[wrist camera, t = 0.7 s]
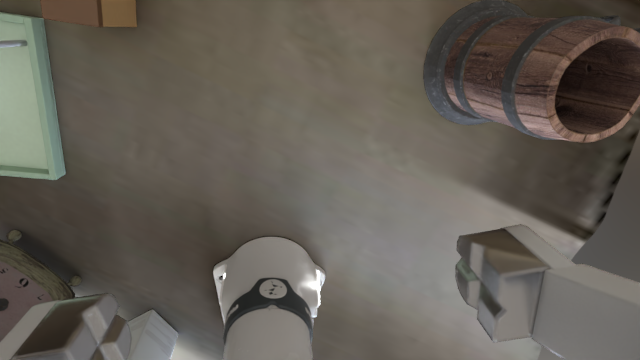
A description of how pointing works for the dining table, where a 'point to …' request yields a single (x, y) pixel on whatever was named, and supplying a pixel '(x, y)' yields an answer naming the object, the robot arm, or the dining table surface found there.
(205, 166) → the dining table surface
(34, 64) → the dish rack
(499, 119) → the tankard
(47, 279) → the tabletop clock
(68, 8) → the kraft box
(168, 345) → the white packaging box
